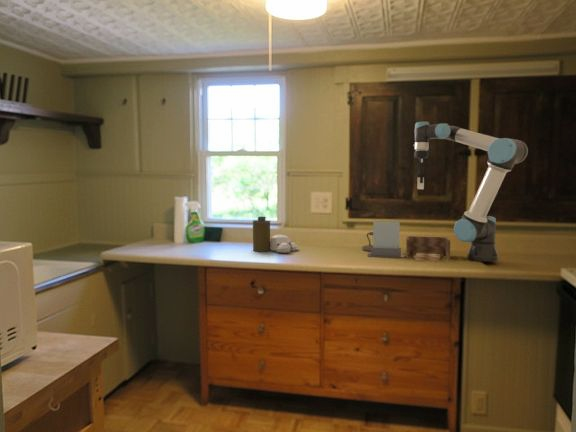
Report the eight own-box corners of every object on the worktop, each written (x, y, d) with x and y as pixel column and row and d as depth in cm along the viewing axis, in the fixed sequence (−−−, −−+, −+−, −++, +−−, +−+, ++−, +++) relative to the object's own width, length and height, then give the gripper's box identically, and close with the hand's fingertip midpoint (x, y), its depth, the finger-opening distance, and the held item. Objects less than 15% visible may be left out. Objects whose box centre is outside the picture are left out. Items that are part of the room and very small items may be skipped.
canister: (273, 249, 277) (273, 216, 275) (263, 252, 268) (263, 217, 266) (259, 248, 282) (259, 215, 281) (248, 250, 273) (248, 216, 272)
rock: (300, 249, 281) (300, 233, 280) (290, 254, 262) (290, 237, 261) (272, 247, 286) (272, 232, 286) (260, 252, 267) (260, 235, 267)
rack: (446, 255, 258) (447, 237, 258) (449, 259, 244) (450, 240, 243) (405, 253, 263) (406, 236, 263) (406, 257, 249) (407, 239, 248)
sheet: (398, 255, 254) (399, 222, 252) (398, 255, 251) (399, 222, 250) (372, 254, 257) (373, 221, 255) (372, 255, 254) (373, 222, 253)
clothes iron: (386, 249, 274) (387, 232, 268) (386, 258, 266) (387, 241, 260) (362, 247, 277) (363, 230, 271) (361, 256, 268) (362, 239, 263)
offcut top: (440, 256, 244) (440, 254, 244) (439, 257, 240) (440, 255, 239) (416, 255, 248) (416, 253, 248) (415, 256, 244) (416, 254, 244)
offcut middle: (439, 258, 244) (439, 256, 244) (439, 260, 240) (439, 257, 240) (414, 257, 248) (414, 255, 248) (413, 258, 244) (413, 256, 244)
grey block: (403, 255, 256) (403, 247, 256) (403, 258, 248) (403, 249, 248) (368, 254, 260) (368, 246, 260) (367, 256, 252) (367, 248, 252)
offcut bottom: (442, 261, 244) (442, 258, 244) (442, 262, 239) (442, 260, 239) (414, 259, 248) (414, 257, 248) (414, 261, 244) (414, 258, 244)
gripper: (413, 152, 269) (412, 188, 270) (415, 148, 244) (414, 189, 246) (426, 151, 267) (425, 188, 268) (430, 148, 243) (429, 189, 244)
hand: (420, 189), depth 257 cm, fingers open, 13 cm apart
